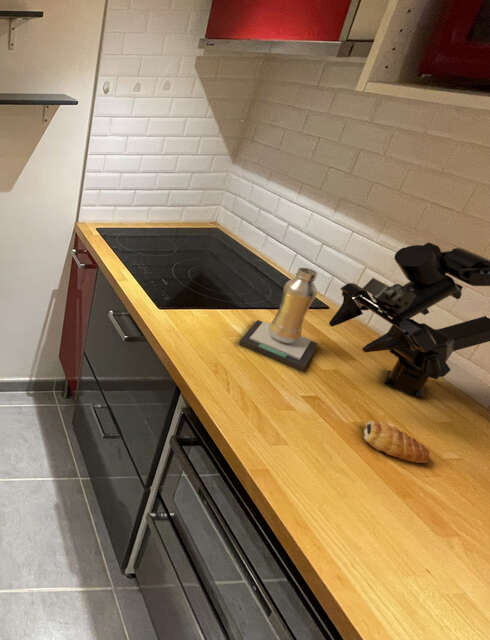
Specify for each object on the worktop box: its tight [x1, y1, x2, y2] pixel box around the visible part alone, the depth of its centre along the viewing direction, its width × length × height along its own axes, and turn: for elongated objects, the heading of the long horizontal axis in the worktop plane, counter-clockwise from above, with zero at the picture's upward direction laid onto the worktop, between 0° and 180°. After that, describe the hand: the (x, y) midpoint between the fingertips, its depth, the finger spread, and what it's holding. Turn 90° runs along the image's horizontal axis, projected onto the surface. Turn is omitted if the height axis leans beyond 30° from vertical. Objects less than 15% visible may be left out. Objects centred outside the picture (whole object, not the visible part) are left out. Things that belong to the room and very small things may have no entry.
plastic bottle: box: [269, 267, 318, 343], centre depth 111 cm, size 6×7×20 cm
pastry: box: [363, 419, 431, 464], centre depth 86 cm, size 9×7×4 cm
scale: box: [238, 319, 319, 372], centre depth 116 cm, size 14×14×2 cm
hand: (345, 337), depth 98 cm, fingers open, 9 cm apart
